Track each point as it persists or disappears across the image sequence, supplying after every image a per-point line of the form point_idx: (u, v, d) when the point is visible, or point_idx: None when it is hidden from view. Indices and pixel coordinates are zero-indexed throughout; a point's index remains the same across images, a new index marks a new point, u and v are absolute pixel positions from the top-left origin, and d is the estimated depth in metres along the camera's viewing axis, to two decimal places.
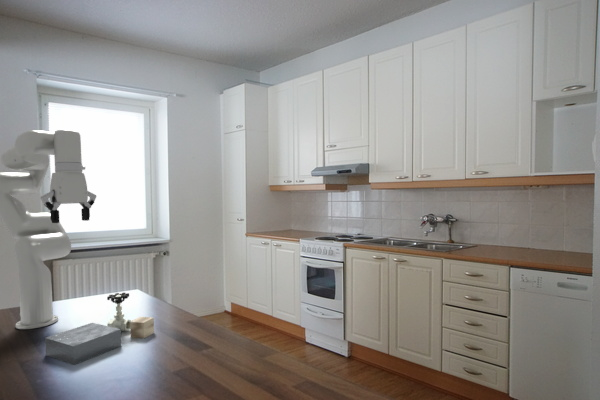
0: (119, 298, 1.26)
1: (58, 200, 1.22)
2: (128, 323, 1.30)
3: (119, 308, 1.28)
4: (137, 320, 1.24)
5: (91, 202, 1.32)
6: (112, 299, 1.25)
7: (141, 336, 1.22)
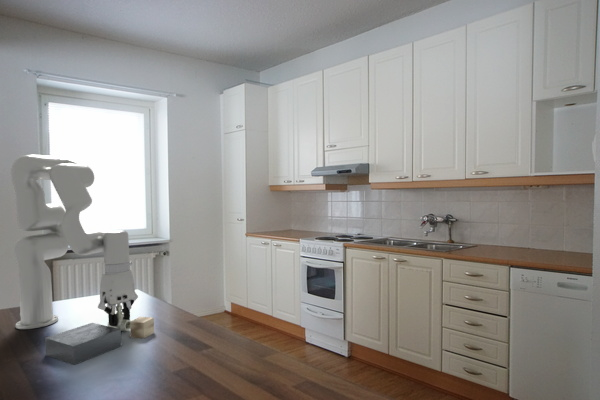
0: (119, 298, 1.26)
1: (109, 303, 1.24)
2: (128, 323, 1.29)
3: (119, 308, 1.28)
4: (137, 320, 1.24)
5: (131, 302, 1.32)
6: None
7: (141, 336, 1.22)
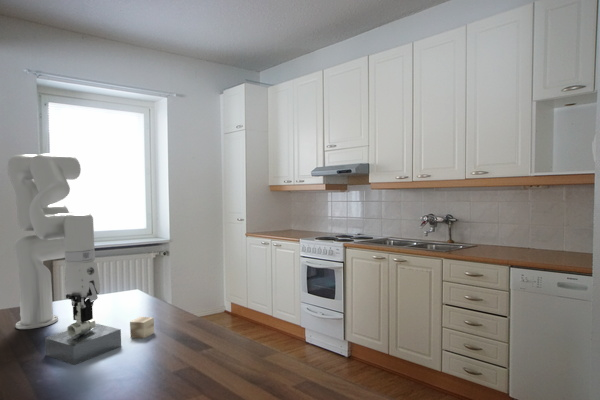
0: None
1: None
2: None
3: (77, 308, 1.12)
4: (137, 320, 1.24)
5: (86, 301, 1.10)
6: None
7: (141, 336, 1.22)
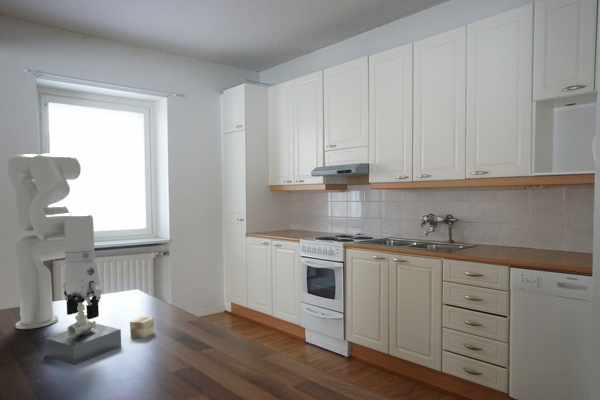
0: None
1: None
2: None
3: (77, 308, 1.12)
4: (137, 320, 1.24)
5: (92, 298, 1.09)
6: None
7: (141, 336, 1.22)
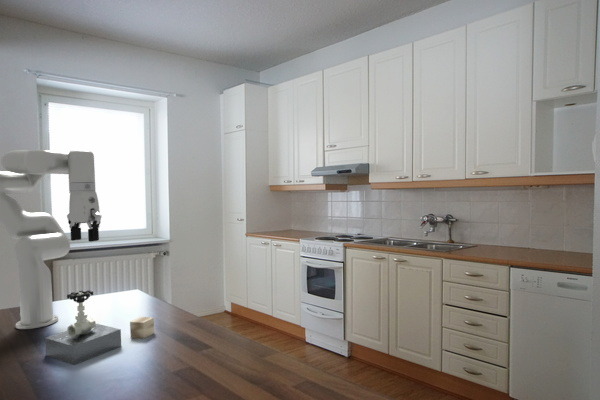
0: None
1: (70, 219, 1.29)
2: None
3: (77, 308, 1.12)
4: (137, 320, 1.24)
5: (93, 222, 1.24)
6: None
7: (141, 336, 1.22)
